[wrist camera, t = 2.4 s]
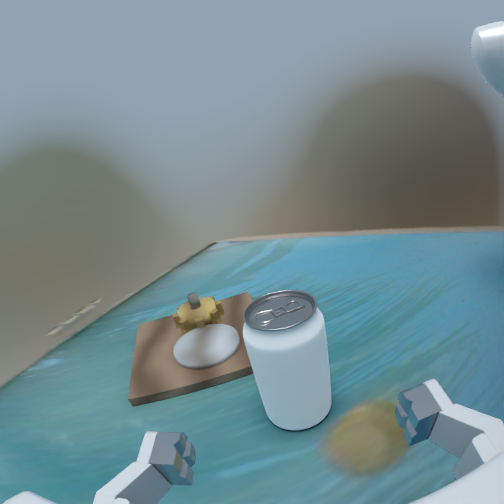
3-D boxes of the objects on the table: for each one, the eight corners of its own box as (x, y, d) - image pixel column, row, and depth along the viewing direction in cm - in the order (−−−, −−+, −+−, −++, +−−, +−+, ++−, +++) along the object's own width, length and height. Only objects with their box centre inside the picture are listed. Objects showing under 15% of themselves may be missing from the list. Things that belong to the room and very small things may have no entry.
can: (257, 401, 27) (227, 306, 23) (311, 376, 29) (296, 279, 25) (283, 443, 21) (255, 346, 17) (344, 411, 23) (340, 307, 19)
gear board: (248, 297, 50) (241, 268, 48) (290, 359, 32) (282, 322, 30) (141, 330, 46) (129, 302, 44) (132, 406, 28) (111, 372, 27)
